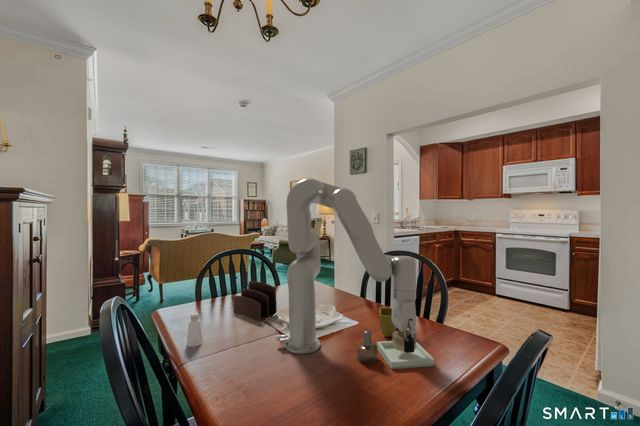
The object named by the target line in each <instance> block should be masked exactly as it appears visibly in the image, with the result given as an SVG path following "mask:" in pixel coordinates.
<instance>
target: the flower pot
mask: <svg viewBox="0 0 640 426" xmlns="http://www.w3.org/2000/svg"><path fill="white" fill-rule="evenodd" d="M391 318H392V307H379V323H380V329H381V332H382V335H383V336H384V337H389V338H393V333H394V332H395V325H394V324H393V323H392V319H391Z"/></svg>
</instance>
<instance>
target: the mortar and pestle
mask: <svg viewBox="0 0 640 426" xmlns="http://www.w3.org/2000/svg"><path fill="white" fill-rule="evenodd" d="M356 348H357V349H356V350H357V351H356V355H357V356H356V357H357V358H356V359H357V361H358V362H359V363H361V364H364V365H373V364H376V363H377V362H378V352H379V351H378V347H377V344H375V343H373V342H372V331H371V330H367V329H366V330H364V331H363V342H360V343H358V344H357V346H356Z"/></svg>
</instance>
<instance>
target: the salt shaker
mask: <svg viewBox="0 0 640 426" xmlns="http://www.w3.org/2000/svg"><path fill="white" fill-rule="evenodd" d="M189 317H190V320H189V321H188V327H187V336H186V346H188V348H195V346H196V347H199V346H201V345H202V342H203V334H202V327H201V326H202V325H201V320H200V319H199V313H198V312H193V313H191V314H190V316H189ZM198 345H199V346H198Z"/></svg>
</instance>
